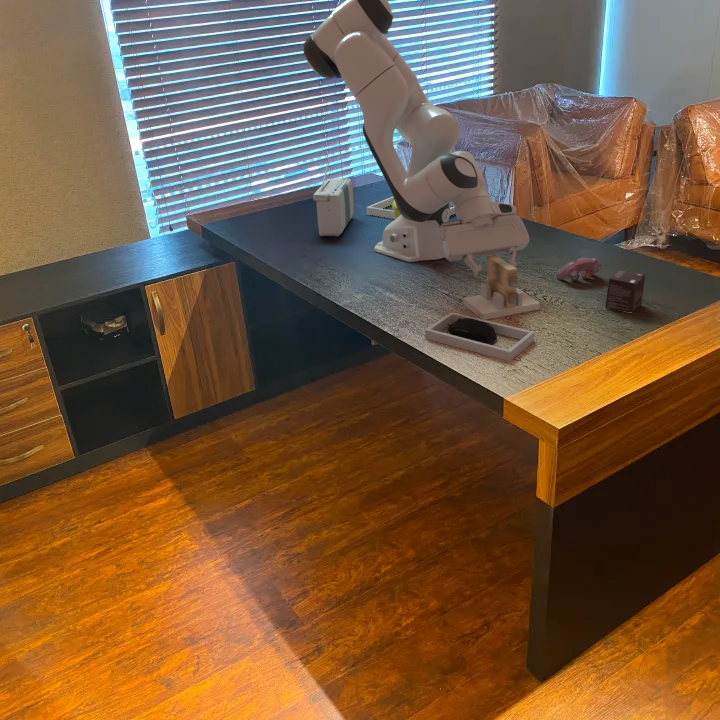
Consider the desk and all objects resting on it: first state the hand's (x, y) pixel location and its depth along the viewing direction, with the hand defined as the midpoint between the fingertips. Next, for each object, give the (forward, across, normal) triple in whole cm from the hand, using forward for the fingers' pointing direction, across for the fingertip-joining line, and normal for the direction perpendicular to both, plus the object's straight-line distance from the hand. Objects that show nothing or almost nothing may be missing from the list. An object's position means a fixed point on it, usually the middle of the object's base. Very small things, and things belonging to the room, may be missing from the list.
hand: (495, 270), depth 160 cm
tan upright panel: (+6, 0, +2) cm, 7 cm away
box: (+16, +24, -5) cm, 29 cm away
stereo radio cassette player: (-47, -16, +58) cm, 76 cm away
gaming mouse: (+14, -13, -3) cm, 20 cm away
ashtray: (-48, +12, +60) cm, 78 cm away
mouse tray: (+17, -12, -6) cm, 22 cm away
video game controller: (+3, +25, +8) cm, 27 cm away
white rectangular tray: (-50, +13, +60) cm, 79 cm away
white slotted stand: (+8, 0, +3) cm, 8 cm away
